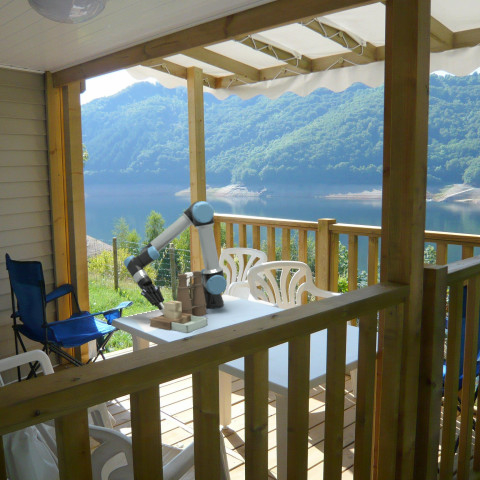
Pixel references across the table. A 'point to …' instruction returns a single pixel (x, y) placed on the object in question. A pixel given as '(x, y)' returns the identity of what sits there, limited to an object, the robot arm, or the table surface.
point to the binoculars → (191, 294)
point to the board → (169, 321)
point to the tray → (190, 324)
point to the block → (172, 309)
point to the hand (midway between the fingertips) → (166, 313)
